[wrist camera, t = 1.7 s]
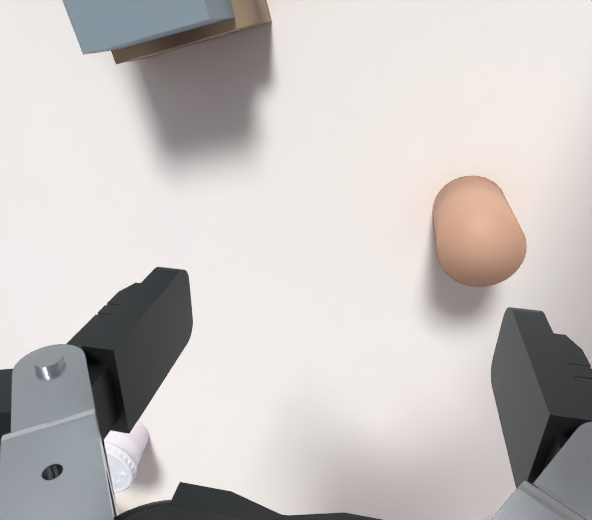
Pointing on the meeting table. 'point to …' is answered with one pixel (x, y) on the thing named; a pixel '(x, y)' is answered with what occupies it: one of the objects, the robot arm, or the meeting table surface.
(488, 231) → the peach capsule
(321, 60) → the meeting table surface
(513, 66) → the meeting table surface
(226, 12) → the tower top
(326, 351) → the meeting table surface
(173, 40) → the tower base
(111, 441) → the smoothie
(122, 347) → the robot arm
